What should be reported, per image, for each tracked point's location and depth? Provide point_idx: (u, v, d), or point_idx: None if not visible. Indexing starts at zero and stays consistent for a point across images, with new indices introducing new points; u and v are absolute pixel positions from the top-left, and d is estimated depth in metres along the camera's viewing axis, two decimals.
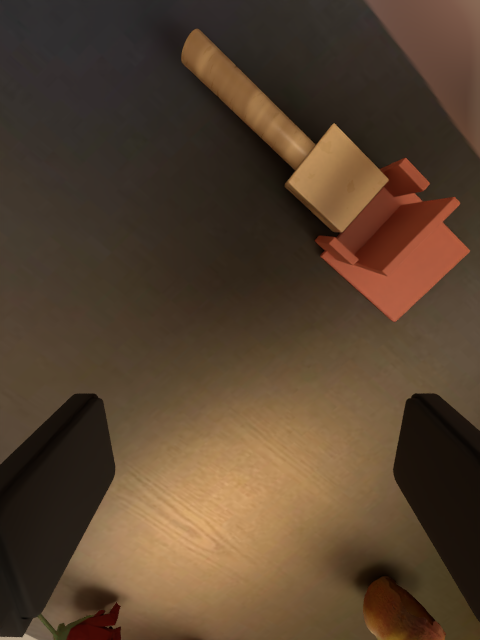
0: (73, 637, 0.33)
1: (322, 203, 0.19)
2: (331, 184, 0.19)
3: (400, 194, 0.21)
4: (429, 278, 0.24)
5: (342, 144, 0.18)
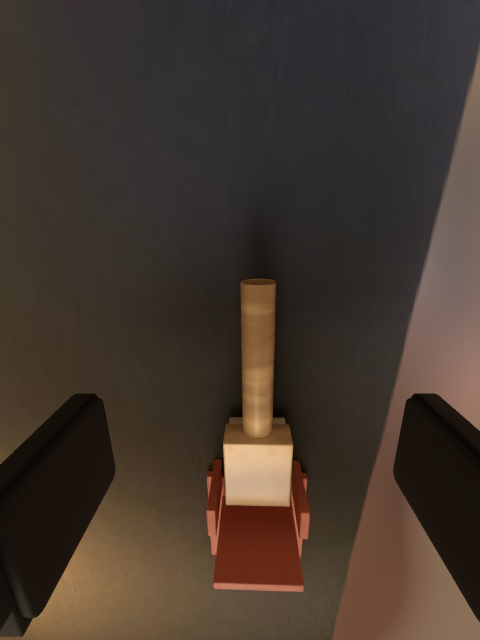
0: None
1: (232, 478, 0.19)
2: (250, 474, 0.19)
3: (293, 501, 0.22)
4: None
5: (283, 461, 0.18)
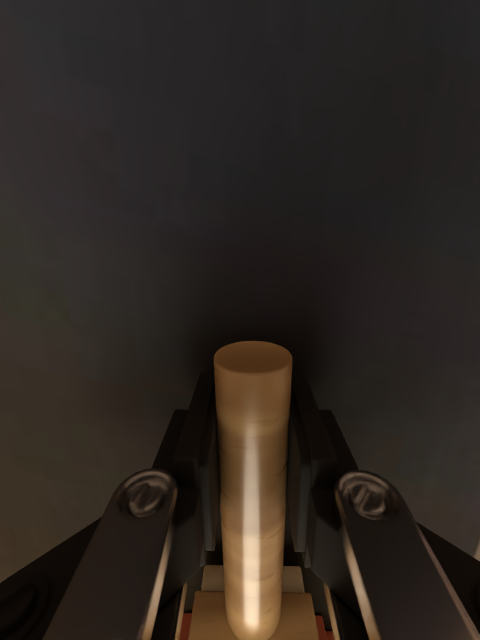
0: None
1: None
2: None
3: None
4: None
5: None
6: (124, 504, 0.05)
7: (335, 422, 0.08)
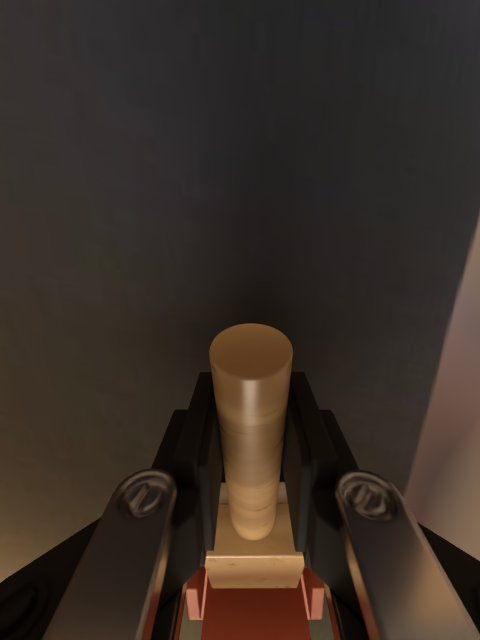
0: None
1: (218, 575, 0.13)
2: (244, 573, 0.13)
3: None
4: None
5: (292, 566, 0.12)
6: (123, 504, 0.05)
7: (336, 422, 0.08)
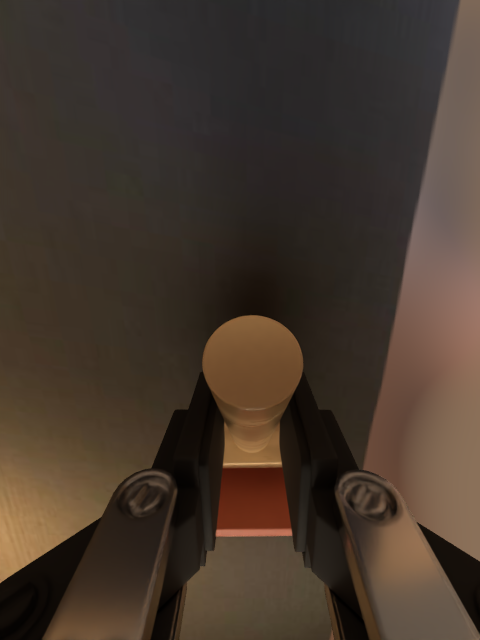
0: None
1: None
2: (243, 466, 0.16)
3: None
4: None
5: None
6: (124, 504, 0.05)
7: (335, 422, 0.08)
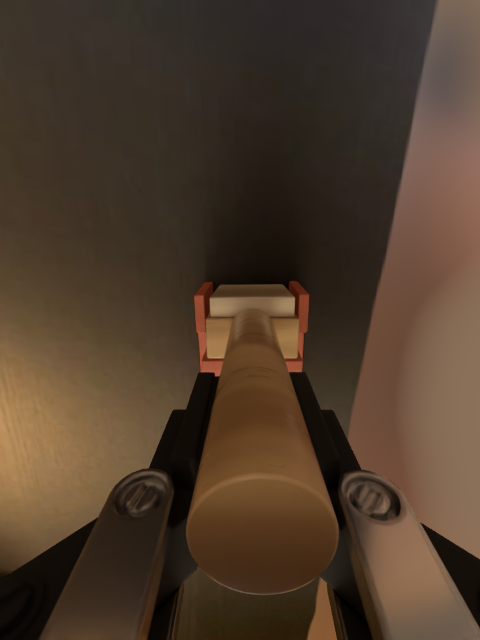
0: None
1: None
2: None
3: None
4: None
5: None
6: (121, 504, 0.05)
7: (337, 422, 0.08)
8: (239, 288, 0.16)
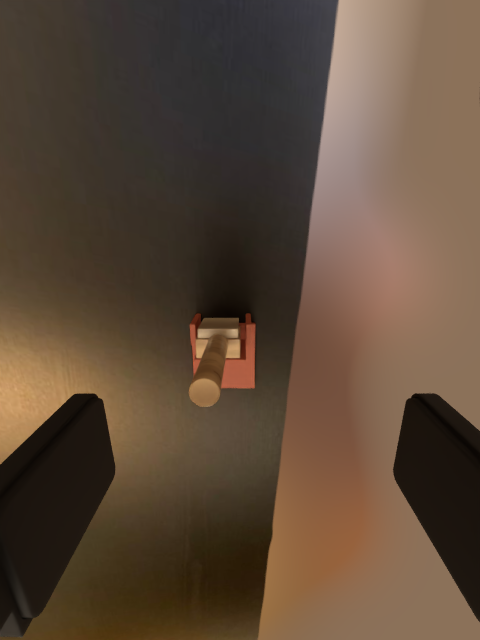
0: None
1: None
2: None
3: None
4: (227, 383, 0.38)
5: None
6: None
7: None
8: (213, 321, 0.31)
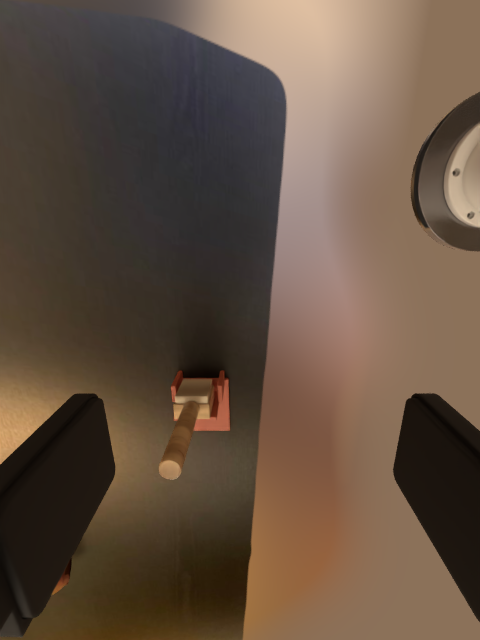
0: None
1: None
2: None
3: None
4: (207, 426, 0.44)
5: None
6: None
7: None
8: (190, 384, 0.37)
